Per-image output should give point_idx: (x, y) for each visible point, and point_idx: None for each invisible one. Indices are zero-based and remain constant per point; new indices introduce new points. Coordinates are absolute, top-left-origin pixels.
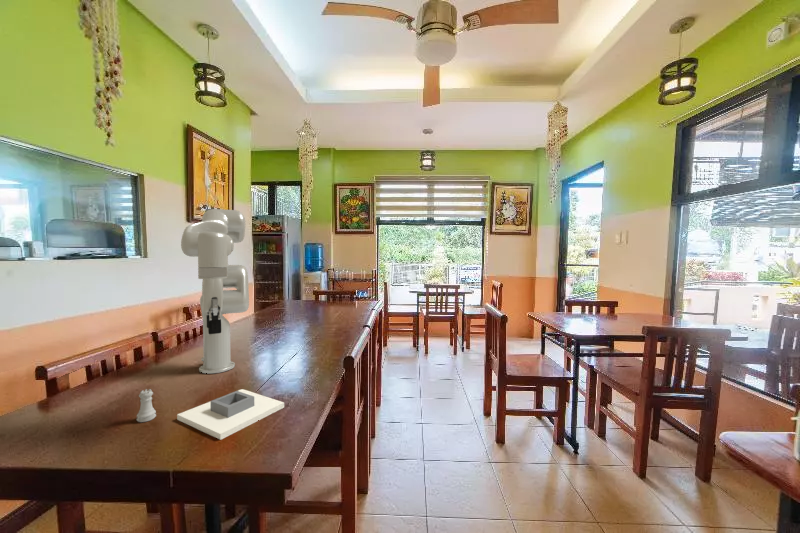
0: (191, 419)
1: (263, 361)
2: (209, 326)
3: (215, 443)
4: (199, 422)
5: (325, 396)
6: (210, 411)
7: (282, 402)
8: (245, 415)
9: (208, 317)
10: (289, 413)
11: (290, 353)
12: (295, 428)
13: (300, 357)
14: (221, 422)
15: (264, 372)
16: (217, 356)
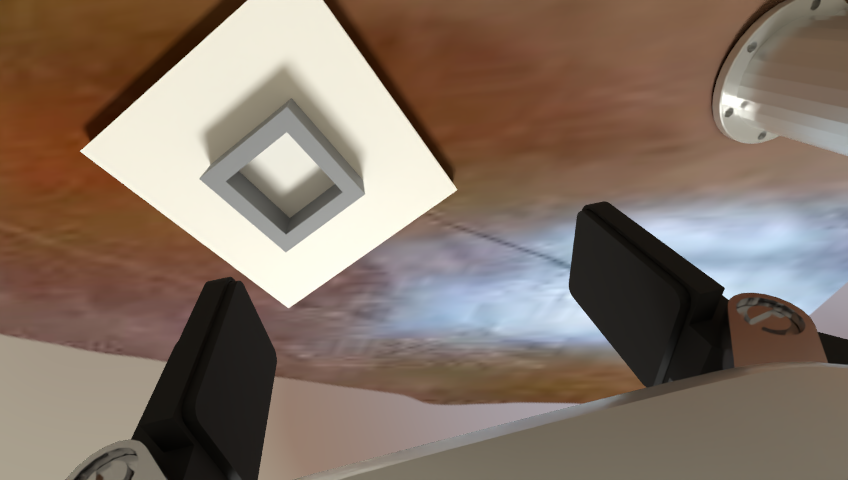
0: (225, 31)
1: (713, 232)
2: (186, 351)
3: (67, 131)
4: (188, 67)
5: (329, 379)
6: (283, 98)
7: (290, 304)
8: (218, 214)
9: (659, 291)
10: None
11: None
12: (145, 324)
13: None
14: (174, 146)
15: None
16: (796, 91)
